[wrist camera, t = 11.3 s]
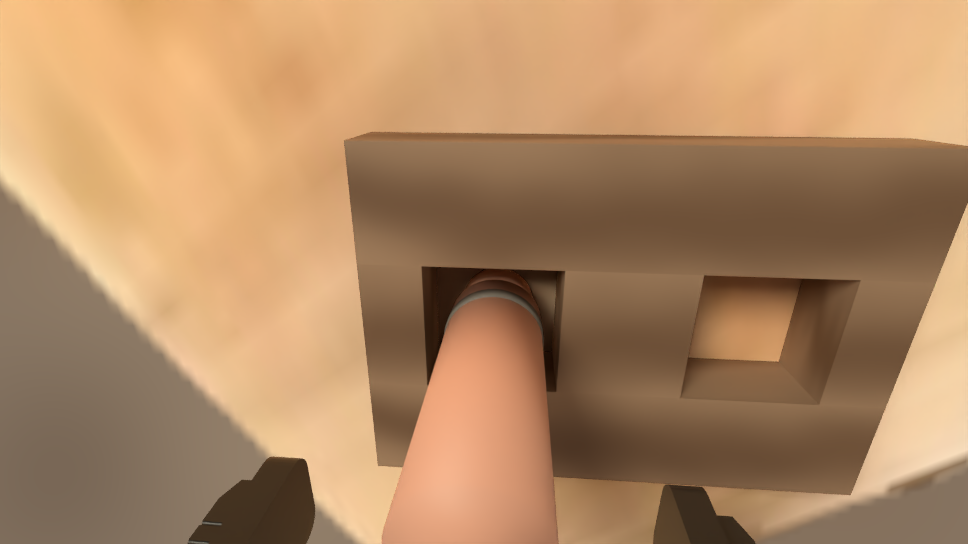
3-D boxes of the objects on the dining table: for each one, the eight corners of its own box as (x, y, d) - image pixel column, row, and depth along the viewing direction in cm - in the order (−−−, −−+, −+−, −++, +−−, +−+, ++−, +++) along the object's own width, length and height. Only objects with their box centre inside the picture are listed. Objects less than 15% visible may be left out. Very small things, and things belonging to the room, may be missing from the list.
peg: (455, 258, 20) (371, 477, 9) (542, 261, 20) (568, 489, 9) (457, 334, 21) (386, 605, 10) (538, 337, 21) (555, 619, 10)
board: (371, 132, 18) (343, 140, 15) (911, 138, 17) (989, 149, 14) (395, 420, 23) (377, 465, 21) (809, 443, 22) (850, 495, 19)
